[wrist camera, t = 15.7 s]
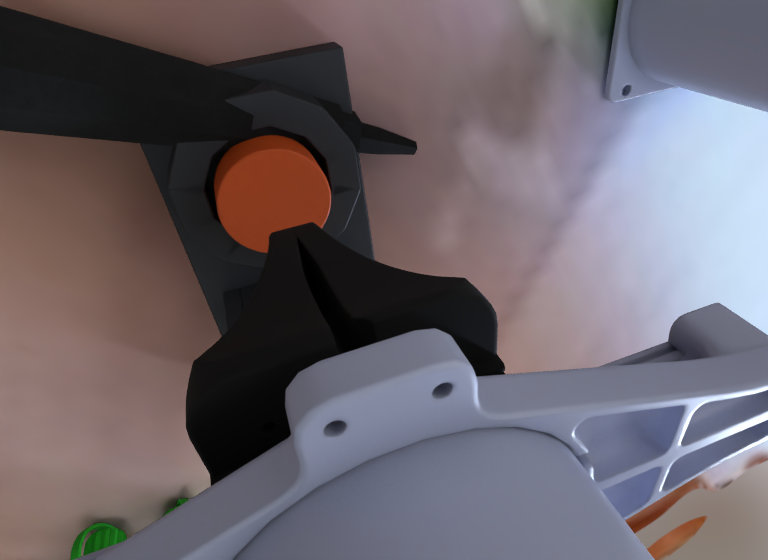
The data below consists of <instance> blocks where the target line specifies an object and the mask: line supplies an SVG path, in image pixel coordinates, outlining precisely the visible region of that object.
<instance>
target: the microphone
mask: <svg viewBox="0 0 768 560" xmlns="http://www.w3.org/2000/svg"><path fill="white" fill-rule="evenodd" d="M260 83H261V82H260V81H257V80H253V79H250V78H247V77H243V76H240V75H236V74H233V73H229V72H226V71H222V70H219V69H216V68H212V67H209V66H205V65H202V64H198V63H195V62H191V61H188V60H185V59H181V58H178V57H174V56H171V55H167V54H164V53H160V52H157V51H154V50H150V49H147V48H143V47H140V46H136V45H133V44H129V43H126V42H122V41H119V40H116V39H112V38H109V37H105V36H102V35H98V34H95V33H91V32H88V31H85V30H81V29H78V28H74V27H71V26H67V25H64V24H60V23H57V22H54V21H50V20H47V19H43V18H40V17H36V16H33V15H29V14H26V13H23V12H19V11H16V10H12V9H9V8H5V7H2V6H0V130H3V131H14V132H25V133H36V134H47V135H57V136H68V137H79V138H90V139H100V140H111V141H122V142H133V143H144V144H154V145H165V146H176V144H177V143H185V142H204V141H224V140H228V143H227V144H226V145H224V146H223V147H222V148H221V149H220V150H219V151H228V150H229V149H230V148H231V147H233V146H235V145H237V144H239V143H241V142H244V141H247V140H250V139H253V138H256V137H260V136H266V135H278V136H284V137H288V138H291V139H293V140H295V141H297V142H298V143H300V144H301V145H303V146H304V147H305V148H306V149H307V150H308V151H309V152H310V153H311V154H312V156H313V157H314V159H316V160H322V158H321V154H320V153H319V152H318V151H317V150H316V149H315V148H314V147H313V146H312V145H311V143H310V142H309V141H308V140H307V139H306V138H305V137H304V136H301V135H298V134H294V133H291V132H288V131H285V130H281V129H278V128H275V127H272V126H271V127H266V128H262V129H257V130H251V129H252V123H253V117H254V115H252V114H250V113H248V112H246V111H244V110H242V109H240V108H238V107H236V106H234V105H232V104H230V103H228V102H226V101H225V99H227V98H230V97H233V96H236V95H239V94H242V93H245V92H247V91H250V90H252V89H253V88H254V87H256V86H257V85H259V84H260ZM314 98H315V99H316V100H317V101H318V102H319V103H320V104H321V105H322V107H323V108H324V109H325V110H326V111H327V112H328V114H329V115H330V116H331V117H332V118H333V120H334V121H335V122H336V123H337V124H338V126H339V127H340V128H341V129H342V130H343V131H344V133H345V134H346V135H347V136H348V137H349V139H350V140H351V141H352V142H353V144H354V146H355V152H359V153H369V154H405V155H414V154H415V152H416V150H417V144H416V142H415V141H413V140H410V139H407V138H405V137H402V136H400V135H397V134H395V133H392V132H389V131H387V130H384V129H382V128H379V127H375V126H372V125H368V124H364V123H362V122H361V121H360V119H359V118H358V116H357V115H356V113H355V112H354V111H352V113H353V114H349V113H346V112H343V111H342V109H341V107H340V105H339V104H336V103H333V102H329V101H326V100H322V99H319V98H316V97H314Z"/></svg>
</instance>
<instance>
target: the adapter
mask: <svg viewBox="0 0 768 560" xmlns="http://www.w3.org/2000/svg"><path fill="white" fill-rule="evenodd" d="M209 67H212V68H216V69H219V70H222V71H226V72H229V73H233V74H236V75H240V76H243V77H247V78H250V79H253V80H257V81H260V82H261V83H260V84H259V85H257V86H256V87H254V88H253V89H252V90H250V91H247V92H245V93H242V94H239V95H236V96H233V97H230V98H227V99H225V101H226V102H228V103H230V104H232V105H234V106H236V107H238V108H240V109H242V110H244V111H246V112H248V113H250V114H252V115H254V117H253V123H252V129H251V130H257V129H262V128H266V127H271V126H272V127H275V128H278V129H281V130H285V131H288V132H291V133H294V134H298V135H301V136H304V137H305V138H306V139H307V140H308V141H309V142H310V143H311V145H312V146H313V147H314V148H315V149H316V150H317V151H318V152H319V153H320V154H321V158H322V160H316V159H315V160H316V162H317V163H318V165H319V167H320V168H321V170H322V171H323V173H324V175H325V176H326V178H327V181H328V183H329V187H330V191H331V207H330V212H329V215H328V218H327V220H326V222H325V224H324V225H323V227H322V229H323V230H324V231H325V232H327V233H328V234H329V235H331V236H332V237H334V238H335V239H336V240H338V241H339V242H341V243H342V244H344V245H346V246H347V247H349V248H350V249H352V250H354V251H355V252H357V253H359V254H361V255H363V256H365V257H367V258H369V259H372V260H374V261H375V258H374V252H373V245H372V239H371V232H370V225H369V219H368V212H367V205H366V199H365V192H364V186H363V179H362V172H361V166H360V159H359V152H355V146H354V144H353V142H352V141H351V140H350V139H349V137H348V136H347V135H346V134H345V133H344V131H343V130H342V129H341V128H340V127H339V126H338V124H337V123H336V122H335V121H334V120H333V118H332V117H331V116H330V115H329V114H328V112H327V111H326V110H325V109H324V108H323V107H322V105H321V104H320V103H319V102H318V101H317V100H316V99H315V98H314V97H316V98H319V99H322V100H326V101H329V102H333V103H336V104H339V105H340V107H341V109H342V111H343V112H346V113H349V114H353V113H352V106H351V99H350V93H349V86H348V80H347V73H346V66H345V60H344V53H343V48H342V47H341V46H340V45H338V44H337V43H335V42H331V43H326V44H321V45H315V46H310V47H305V48H300V49H295V50H289V51H284V52H279V53H274V54H269V55H263V56H258V57H253V58H248V59H243V60H237V61H232V62H227V63H222V64H216V65H211V66H209ZM227 143H228V140H224V141H204V142H185V143H177V144H176V146H165V145H154V144H144V143H140V145H141V147H142V149H143V152H144V154H145V156H146V159H147V161H148V163H149V166H150V168H151V171H152V173H153V175H154V178H155V180H156V182H157V185H158V187H159V189H160V192H161V194H162V196H163V199H164V201H165V204H166V206H167V208H168V211H169V213H170V215H171V218H172V220H173V222H174V225H175V227H176V229H177V232H178V234H179V236H180V239H181V241H182V244H183V246H184V248H185V251H186V253H187V255H188V258H189V260H190V262H191V265H192V267H193V269H194V272H195V274H196V277H197V279H198V281H199V284H200V286H201V288H202V291H203V293H204V295H205V298H206V300H207V302H208V305H209V307H210V309H211V312H212V314H213V317H214V319H215V321H216V324H217V326H218V328H219V331H220V333H221V335H222V336H223V335H224V334H225V333H226V332H227V326H226V318H225V310H224V302H223V293H224V292H227V291H231V290H234V289H240V288H242V287H245V286H248V285H252V284H255V283H258V281H259V279H260V276H261V274H262V271H263V268H264V264H265V260H266V257H267V253H264V252H259V251H255V250H252V249H249V248H247V247H245V246H243V245H241V244H240V243H238V242H237V241H235V240H234V239H233V238H232V237H231V236H230V235H229V234H228V233H227V231H226V230H225V228H224V227H223V225H222V223H221V221H220V219H219V216H218V212H217V206H216V199H215V191H214V177H215V172H216V169H217V166H218V164H219V162H220V160H221V159H222V157H223V156H224V154H225V153H226V152H227V151H219V150H220V149H221V148H222V147H223V146H224V145H226V144H227Z"/></svg>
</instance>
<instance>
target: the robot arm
mask: <svg viewBox="0 0 768 560" xmlns="http://www.w3.org/2000/svg"><path fill="white" fill-rule="evenodd" d="M624 87H625V90H624V91H623V92H622V90H623V88H624ZM676 87H681V88H685V89H688V90H692V91H695V92H699V93H702V94H706V95H709V96H713V97H716V98H720V99H723V100H727V101H730V102H734V103H737V104H741V105H744V106H748V107H752V108H755V109H759V110H762V111H766V112H768V0H618V7H617V14H616V20H615V27H614V33H613V40H612V47H611V53H610V60H609V67H608V73H607V80H606V86H605V98H606V100H608V101H610V102H619V101H623V100H627V99H631V98H635V97H640V96H644V95H648V94H652V93H656V92H660V91H664V90H668V89H672V88H676ZM497 327H498V324H497V316H496V312H495V311H494V309H493V307H492V305H491V304H490V303H489V301H488V300H487V299H486V298H485V297H484V296H483V295H482V294H481V293H480V291H479V290H478V289H477V288H475V287H474V286H473V285H472V284H471V283H470V282H469V281H468V280H467V279H466V278H457V277H439V276H431V275H424V274H418V273H413V272H408V271H405V270H401V269H397V268H393V267H390V266H387V265H384V264H382V263H379V262H377V261H374V260H372V259H369V258H367V257H365V256H363V255H361V254H359V253H357V252H355V251H354V250H352V249H350V248H349V247H347V246H346V245H344V244H342V243H341V242H339V241H338V240H336V239H335V238H334V237H332V236H331V235H329V234H328V233H327V232H325V231H324V230H323V229H322V228H320V227H319V226H318V225H317V224H315V223H313V222H310V223H306V224H302V225H299V226H295V227H291V228H287V229H283V230H280V231H276V232H272V233H271V234H270V236H269V246H268V252H267V257H266V260H265V264H264V268H263V271H262V274H261V276H260V279H259V281H258V284H257V286H256V289H255V291H254V293H253V295H252V297H251V299H250V300H249V302H248V304H247V306H246V307H245V309H244V310H243V312H242V313H241V315H240V316H239V318H238V319H237V321H236V322H235V323H234V324H233V325H232V327H231V328H230V329H229V330H228V331H227V332H226V333H225V334H224V335H223V336H222V337H221V338H220V339H219V340H218V341H217V342H216V343H215V344H214V345H213V346H212V347H211V348H209V349H208V350H207V351H206V352H205V353H203V354H202V355H201V356H200V357H199V358H197V359H196V360H195V361H194V362H193V365H192V369H191V373H190V378H189V383H188V389H187V396H186V429H187V432H188V435H189V438H190V440H191V442H192V444H193V445H194V447H195V449H196V451H197V452H198V454H199V456H200V458H201V459H202V461H203V463H204V465H205V466H206V468H207V470H208V472H209V473H210V478H211V487H209V488H207V489H206V490H204V491H203V492H201V493H199V494H198V495H196V496H195V497H193V498H192V499H190V500H188V501H187V502H185V503H184V504H182V505H180V506H179V507H177V508H176V509H174V510H172V511H171V512H169V513H168V514H166V515H164V516H163V517H161V518H160V519H158V520H157V521H155V522H153V523H152V524H150V525H149V526H147V527H145V528H144V529H142V530H141V531H139V532H137V533H136V534H134V535H133V536H131V537H129V538H128V539H126V540H125V541H123V542H120V543H117V544H115V545H112V546H109V547H107V548H104V549H101V550H98V551H96V552H93V553H90V554H87V555H85V556H82V557H79V558H77V559H74V560H654V558H653V557H652V556H651V554H650V553H649V552H648V551H647V549H646V548H645V547H644V545H643V544H642V543H641V541H640V540H639V539H638V538H637V536H636V535H635V534H634V532H633V531H632V530H631V528H630V527H629V526H628V524H627V523H626V522H625V520H626V519H628V518H630V517H631V516H633V515H634V514H636V513H638V512H639V511H641V510H643V509H644V508H646V507H647V506H649V505H651V504H652V503H654V502H656V501H657V500H659V499H660V498H662V497H664V496H665V495H667V494H669V493H670V492H672V491H673V490H675V489H677V488H678V487H680V486H682V485H683V484H685V483H686V482H688V481H690V480H692V479H693V478H695V477H697V476H698V475H700V474H702V473H704V472H705V471H707V470H709V469H710V468H712V467H714V466H716V465H718V464H719V463H721V462H723V461H725V460H727V459H729V458H731V457H733V456H735V455H736V454H738V453H740V452H742V451H745V450H747V449H749V448H751V447H753V446H755V445H757V444H759V443H762V442H764V441H766V440H768V335H766V334H765V333H764V332H762V331H761V330H759V329H758V328H756V327H755V326H753V325H752V324H750V323H749V322H747V321H746V320H744V319H743V318H741V317H740V316H738V315H737V314H735V313H734V312H732V311H731V310H729V309H728V308H726V307H725V306H723V305H722V304H720V303H714V304H711V305H708V306H705V307H703V308H700V309H697V310H694V311H691V312H689V313H686V314H684V315H682V316H680V317H679V318H678V319H677V320H676V321H675V322H674V323H673V325H672V327H671V329H670V333H669V339H668V342H665V343H662V344H660V345H657V346H654V347H651V348H649V349H646V350H643V351H641V352H638V353H635V354H632V355H630V356H627V357H624V358H621V359H619V360H616V361H613V362H611V363H608V364H605V365H602V366H600V367H595V368H582V369H569V370H556V371H543V372H530V373H517V374H505V373H504V372H503V371H505V366H504V363H503V362H502V360H501V359H500V358H499V357H498V355H497Z"/></svg>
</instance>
